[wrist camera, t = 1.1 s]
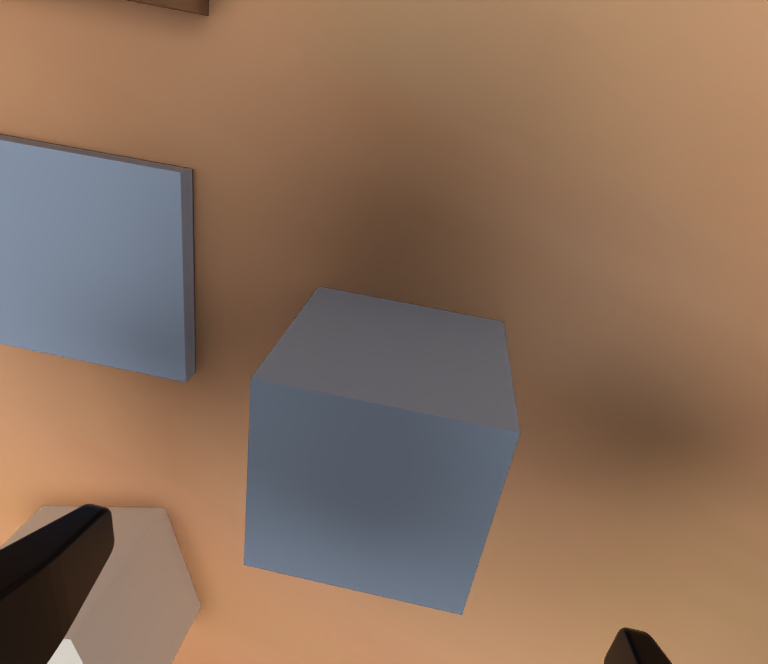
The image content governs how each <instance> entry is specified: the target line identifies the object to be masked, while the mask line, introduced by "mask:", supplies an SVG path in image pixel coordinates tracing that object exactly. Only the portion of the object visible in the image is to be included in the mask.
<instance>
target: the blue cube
mask: <svg viewBox="0 0 768 664" xmlns="http://www.w3.org/2000/svg"><path fill="white" fill-rule="evenodd" d="M519 436H520V427H519V421H518V414H517V407H516V401H515V394H514V387H513V381H512V374H511V367H510V361H509V354H508V347H507V341H506V334H505V327H504V322H502V321H497V320H492V319H487V318H482V317H476V316H471V315H466V314H461V313H456V312H450V311H445V310H440V309H435V308H429V307H424V306H419V305H414V304H409V303H403V302H398V301H393V300H388V299H383V298H377V297H372V296H367V295H362V294H356V293H351V292H346V291H341V290H336V289H330V288H325V287H320V286H318V288H317V289H316V291H315V292H314V293H313V295H312V296H311V297H310V299H309V300H308V301H307V303H306V304H305V305H304V307H303V308H302V309H301V311H300V312H299V314H298V315H297V316H296V318H295V319H294V320H293V322H292V323H291V324H290V326H289V327H288V328H287V330H286V331H285V332H284V334H283V335H282V337H281V338H280V339H279V341H278V342H277V343H276V345H275V346H274V347H273V349H272V350H271V351H270V353H269V354H268V355H267V357H266V358H265V359H264V361H263V362H262V364H261V365H260V366H259V368H258V369H257V370H256V372H255V373H254V374H253V376H252V377H251V388H250V415H249V441H248V468H247V495H246V521H245V548H244V565H247V566H251V567H255V568H260V569H264V570H268V571H273V572H277V573H281V574H286V575H290V576H294V577H299V578H303V579H308V580H312V581H316V582H321V583H325V584H329V585H334V586H338V587H342V588H347V589H351V590H355V591H360V592H364V593H369V594H373V595H377V596H382V597H386V598H390V599H395V600H399V601H403V602H408V603H412V604H417V605H421V606H425V607H430V608H434V609H438V610H443V611H447V612H451V613H456V614H460V615H462V613H463V610H464V607H465V604H466V601H467V598H468V595H469V592H470V588H471V585H472V582H473V579H474V576H475V573H476V570H477V567H478V563H479V560H480V557H481V554H482V551H483V548H484V545H485V542H486V539H487V535H488V532H489V529H490V526H491V523H492V520H493V517H494V514H495V510H496V507H497V504H498V501H499V498H500V495H501V492H502V489H503V486H504V482H505V479H506V476H507V473H508V470H509V467H510V464H511V461H512V457H513V454H514V451H515V448H516V445H517V442H518V439H519Z"/></svg>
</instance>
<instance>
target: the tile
mask: <svg viewBox="0 0 768 664" xmlns="http://www.w3.org/2000/svg"><path fill="white" fill-rule="evenodd" d="M0 344H4V345H9V346H14V347H18V348H23V349H28V350H33V351H38V352H42V353H47V354H52V355H57V356H62V357H66V358H71V359H76V360H81V361H85V362H90V363H95V364H100V365H105V366H109V367H114V368H119V369H124V370H129V371H133V372H138V373H143V374H148V375H152V376H157V377H162V378H167V379H172V380H176V381H181V382H187V381H188V380H189V378H190V377H191V376H192V375H193V374H194V373H195V320H194V256H193V192H192V169H190V168H184V167H178V166H173V165H167V164H162V163H156V162H151V161H145V160H140V159H134V158H128V157H123V156H117V155H112V154H106V153H101V152H95V151H90V150H84V149H78V148H73V147H67V146H62V145H56V144H51V143H45V142H40V141H34V140H29V139H23V138H17V137H12V136H6V135H1V134H0Z"/></svg>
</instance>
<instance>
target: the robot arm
mask: <svg viewBox="0 0 768 664" xmlns="http://www.w3.org/2000/svg"><path fill="white" fill-rule="evenodd" d="M114 542H115V538H114V530H113V521H112V513H111V511H110V510H109V508H106V507H102V506H98V505H94V504H86V505H83V506H81V507H79V508H77V509H75V510H73V511H71V512H69V513H68V514H66V515H64V516H62V517H60V518H58V519H56V520H54V521H53V522H51V523H49V524H47V525H45V526H43V527H41V528H40V529H38V530H36V531H34V532H32V533H30V534H28V535H26V536H25V537H23V538H21V539H19V540H17V541H15V542H13V543H11V544H10V545H8V546H6V547H4V548H2V549H0V664H47V663H48V662H49V660H50V659H51V657H52V656H53V654H54V653H55V651H56V650H57V648H58V647H59V645H60V644H61V642H62V641H63V639H64V637H65V636H66V634H67V632H68V630H69V629H70V627H71V625H72V624H73V622H74V620H75V618H76V616H77V615H78V613H79V611H80V609H81V607H82V606H83V604H84V602H85V600H86V598H87V597H88V595H89V593H90V591H91V589H92V587H93V586H94V584H95V582H96V580H97V578H98V577H99V575H100V573H101V571H102V569H103V568H104V566H105V564H106V562H107V560H108V559H109V557H110V555H111V553H112V550H113V547H114ZM604 664H672V663H671V662H670V660H669V659H668V658H667V656H666V655H665V654H664V652H663V651H662V650H661V648H660V647H659V646H658V644H657V643H656V642H655V640H654V639H653V638H652V637H651V636H650V635H649V634H648V633H646V632H643V631H639V630H635V629H631V628H622V629H620V630H619V632H618V634H617V635H616V637H615V639H614V641H613V643H612V645H611V647H610V649H609V650H608V652H607V654H606V657H605V660H604Z"/></svg>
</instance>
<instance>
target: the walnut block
mask: <svg viewBox="0 0 768 664" xmlns="http://www.w3.org/2000/svg"><path fill="white" fill-rule="evenodd" d="M128 1H133V2H138V3H143V4H149V5H154V6H159V7H164V8H169V9H175V10H180V11H185V12H190V13H195V14H201V15H206V16H208V12H209V0H128Z"/></svg>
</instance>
